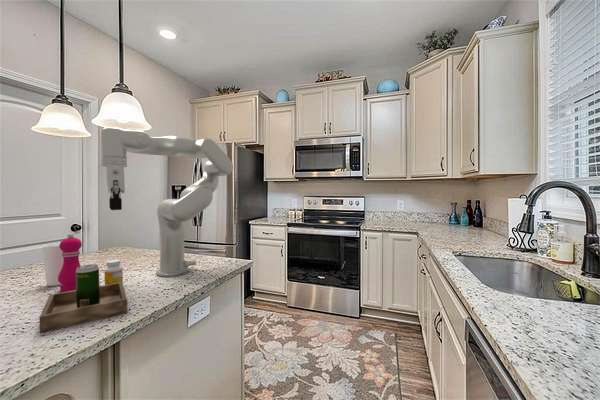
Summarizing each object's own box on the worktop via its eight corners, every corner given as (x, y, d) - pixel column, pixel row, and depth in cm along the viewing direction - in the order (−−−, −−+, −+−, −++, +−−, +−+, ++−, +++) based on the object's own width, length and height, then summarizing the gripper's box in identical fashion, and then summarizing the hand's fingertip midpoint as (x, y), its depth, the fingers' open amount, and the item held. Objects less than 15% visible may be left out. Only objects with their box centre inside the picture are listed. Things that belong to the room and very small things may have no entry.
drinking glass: (54, 281, 103) (53, 242, 102) (73, 281, 103) (72, 242, 103) (38, 287, 96) (37, 246, 96) (58, 287, 97) (57, 246, 96)
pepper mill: (69, 293, 91) (68, 235, 90) (52, 292, 92) (51, 234, 91) (90, 286, 98) (88, 232, 97) (74, 285, 99) (72, 231, 99)
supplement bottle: (102, 288, 96) (101, 261, 96) (119, 284, 100) (118, 258, 100) (108, 291, 93) (107, 263, 92) (125, 286, 97) (125, 260, 97)
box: (122, 293, 91) (122, 282, 90) (127, 313, 76) (126, 299, 76) (50, 307, 80) (49, 294, 80) (39, 333, 65) (39, 317, 65)
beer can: (98, 308, 77) (97, 267, 77) (74, 312, 75) (73, 270, 74) (101, 301, 82) (100, 263, 82) (79, 305, 79) (78, 265, 79)
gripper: (128, 161, 93) (129, 210, 93) (124, 165, 107) (125, 207, 107) (102, 159, 88) (103, 211, 89) (101, 163, 102) (102, 208, 102)
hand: (115, 209), depth 98 cm, fingers open, 9 cm apart
